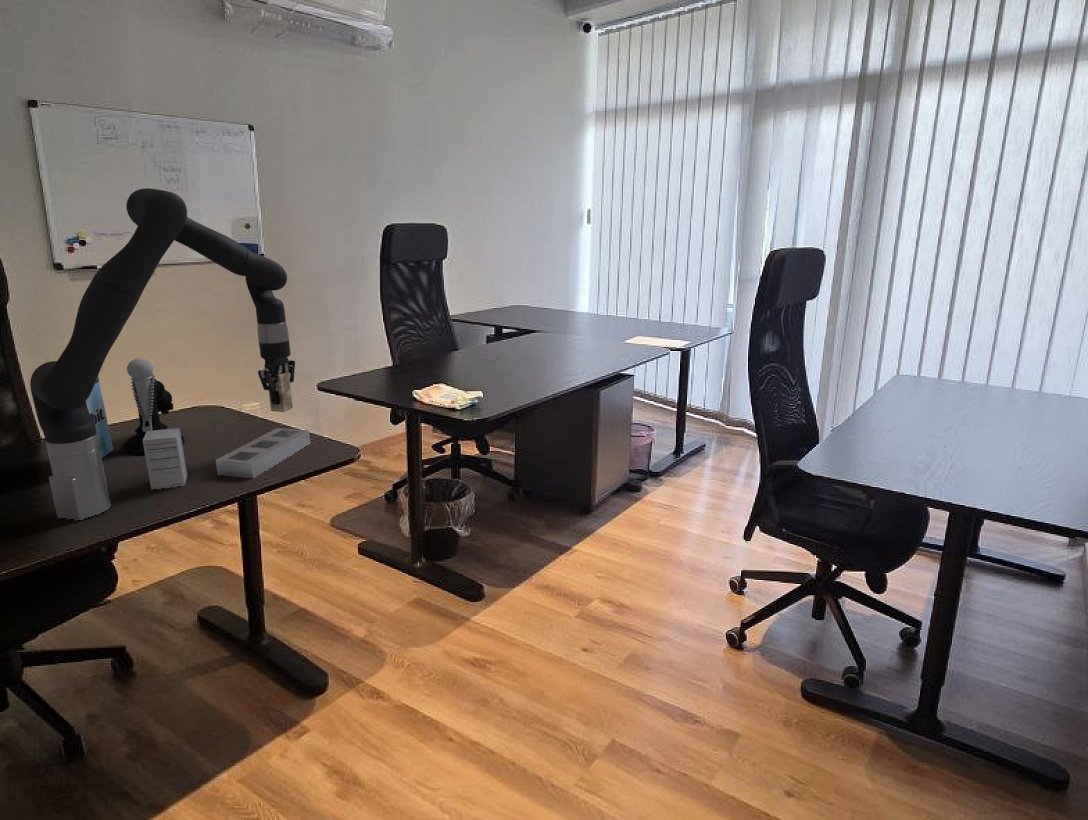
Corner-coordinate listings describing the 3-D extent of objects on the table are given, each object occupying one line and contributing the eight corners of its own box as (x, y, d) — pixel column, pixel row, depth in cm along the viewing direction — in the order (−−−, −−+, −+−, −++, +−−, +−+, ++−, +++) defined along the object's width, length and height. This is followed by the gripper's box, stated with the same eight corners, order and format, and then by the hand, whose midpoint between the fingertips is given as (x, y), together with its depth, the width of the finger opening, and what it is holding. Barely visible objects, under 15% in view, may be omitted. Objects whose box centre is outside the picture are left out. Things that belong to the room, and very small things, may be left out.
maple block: (284, 412, 189) (280, 375, 186) (271, 411, 189) (266, 375, 187) (292, 407, 192) (288, 372, 189) (279, 407, 193) (275, 371, 190)
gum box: (80, 476, 174) (61, 386, 168) (57, 477, 174) (38, 387, 167) (114, 449, 193) (98, 368, 186) (94, 450, 192) (77, 369, 186)
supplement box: (154, 479, 172) (146, 430, 168) (188, 475, 174) (180, 427, 171) (150, 490, 165) (141, 440, 162) (185, 486, 168) (177, 436, 164)
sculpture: (115, 457, 187) (97, 365, 180) (140, 430, 209) (125, 348, 202) (177, 452, 191) (163, 362, 184) (195, 426, 213) (183, 345, 206)
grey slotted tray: (253, 478, 172) (251, 463, 171) (217, 475, 175) (215, 459, 174) (310, 444, 197) (309, 430, 196) (278, 441, 199) (277, 428, 198)
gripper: (270, 345, 178) (278, 410, 183) (301, 334, 191) (308, 395, 196) (244, 344, 180) (252, 408, 185) (276, 333, 193) (284, 394, 198)
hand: (281, 401), depth 190 cm, fingers closed on maple block, 4 cm apart
